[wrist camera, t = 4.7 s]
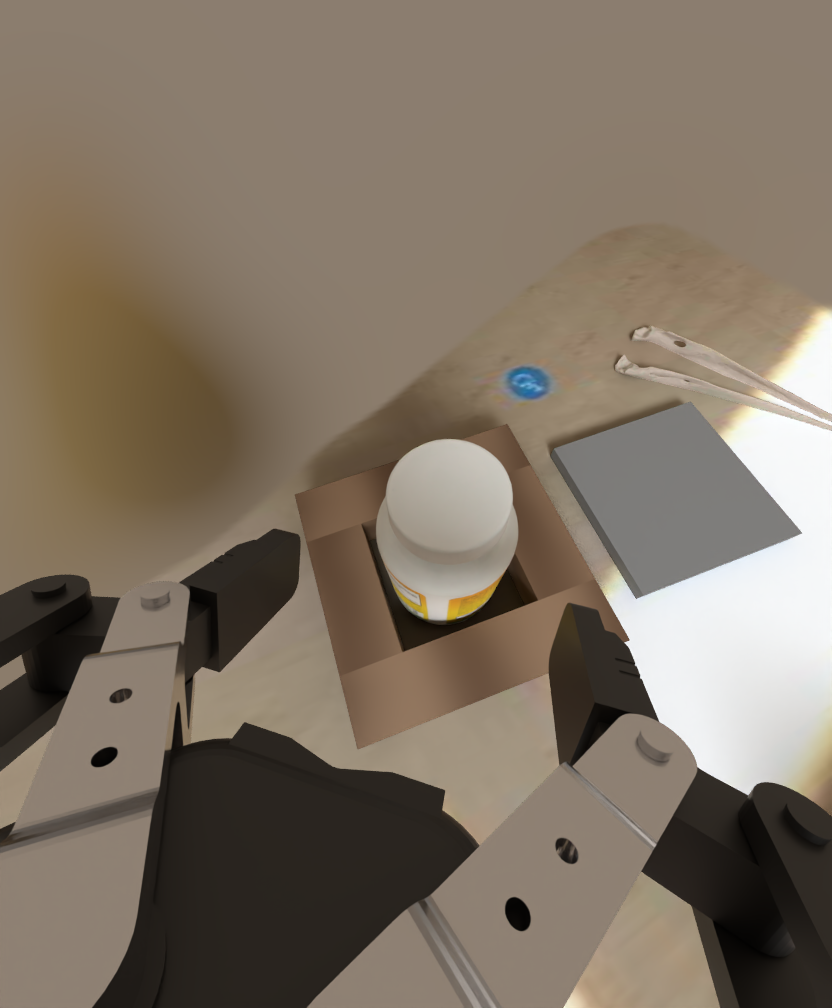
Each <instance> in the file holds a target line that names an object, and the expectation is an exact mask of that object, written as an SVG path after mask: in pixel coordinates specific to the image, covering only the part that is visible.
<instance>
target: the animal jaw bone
mask: <svg viewBox="0 0 832 1008" xmlns="http://www.w3.org/2000/svg"><path fill="white" fill-rule="evenodd" d="M631 340H632V341H650V342H653V343H655V344H657V345H660V346H662V347H664V348H666V349H668V350H670V351H672V352H674V353H676V354H679V355H681V356H682V357H685V358H687V359H689V360H691V361H693V362H696V363H698V364H700V365H702V366H704V367H706V368H709V369H711V370H713V371H715V372H717V373H719V374H722V375H724V376H727V377H729V378H732V379H735V380H737V381H740V382H742V383H745V384H747V385H750V386H752V387H754V388H757V389H759V390H761V391H763V392H765V393H767V394H770V395H772V396H774V397H776V398H778V399H781V400H783V401H785V402H788V403H790V404H792V405H794V406H797V407H799V408H801V409H803V410H805V411H808V412H811V413H813V414H814V415H816V416H818V417H820V418H823V419H826V420H828V421H831V422H832V414H830V413H828V412H826V411H824V410H822V409H820V408H818V407H816V406H814V405H812V404H810V403H809V402H807V401H805V400H803V399H802V398H800V397H798V396H796V395H795V394H793V393H791V392H789V391H787V390H785V389H783V388H781V387H779V386H778V385H776V384H774V383H772V382H770V381H768V380H766V379H765V378H763V377H761V376H759V375H757V374H756V373H754V372H752V371H750V370H749V369H747V368H745V367H743V366H742V365H740V364H738V363H736V362H734V361H733V360H731V359H729V358H727V357H726V356H724V355H722V354H720V353H719V352H717V351H715V350H713V349H711V348H709V347H707V346H704V345H702V344H699V343H696V342H693V341H691V340H688V339H686V338H683V337H681V336H678V335H676V334H674V333H672V332H668V331H664V329H661V328H656V327H654V326H649V328H645V327H643V328H641V329H638V330H635V332H634V335H633V336H632V339H631ZM674 341H682V342H684V343H685V344H686V346H685V347H679V346H677V345H676V344H674ZM615 371H616V372H619V373H621V374H624V375H628V376H632V377H636V378H641V379H645V380H650V381H655V382H659V383H663V384H667V385H671V386H675V387H679V388H683V389H687V390H692V391H696V392H699V393H703V394H707V395H710V396H714V397H717V398H721V399H724V400H728V401H732V402H735V403H739V404H742V405H746V406H750V407H753V408H757V409H760V410H764V411H768V412H771V413H775V414H778V415H782V416H785V417H789V418H792V419H795V420H798V421H802V422H806V423H809V424H812V425H814V426H818V427H821V428H824V429H827V430H831V431H832V426H830V425H828V424H825V423H822V422H820V421H817V420H815V419H812V418H810V417H808V416H805V415H802V414H800V413H797V412H795V411H792V410H789V409H787V408H785V407H782V406H778V405H775V404H773V403H770V402H767V401H764V400H761V399H758V398H755V397H752V396H748V395H745V394H741V393H738V392H735V391H732V390H728V389H725V388H722V387H719V386H716V385H713V384H711V383H708V382H706V381H703V380H701V379H697V378H694V377H691V376H688V375H684V374H680V373H676V372H673V371H669V370H662V369H659V368H655V367H652V366H651V367H649V368H639V367H638V366H637V365H636V364H633V363H631V362H630V361H628V360H627V358H626V356H625V355H623V356H622V357H621V359H620V360H619V361H618V363H617V364H616V365H615ZM683 379H684V380H688V381H690V382H686V381H684V380H683Z"/></svg>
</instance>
